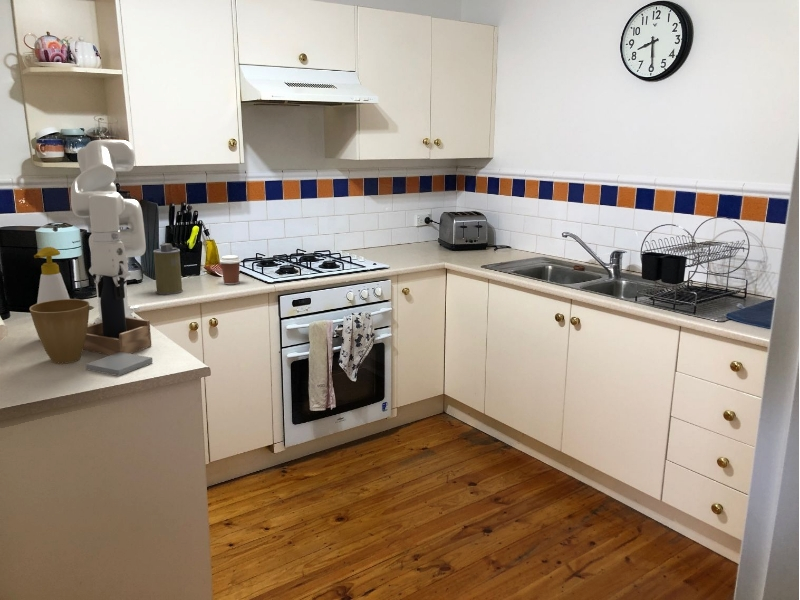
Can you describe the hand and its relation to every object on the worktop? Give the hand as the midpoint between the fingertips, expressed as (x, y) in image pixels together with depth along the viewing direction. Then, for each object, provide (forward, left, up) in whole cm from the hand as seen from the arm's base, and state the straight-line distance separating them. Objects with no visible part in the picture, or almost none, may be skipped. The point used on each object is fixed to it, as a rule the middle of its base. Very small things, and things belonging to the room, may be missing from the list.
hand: (111, 297), depth 195 cm
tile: (+12, +14, -16) cm, 24 cm away
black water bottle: (0, 0, -16) cm, 16 cm away
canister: (-67, -41, -16) cm, 80 cm away
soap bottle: (+2, -23, -16) cm, 28 cm away
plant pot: (+15, -4, -16) cm, 22 cm away
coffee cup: (-92, -29, -16) cm, 98 cm away
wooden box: (0, 0, -16) cm, 16 cm away
